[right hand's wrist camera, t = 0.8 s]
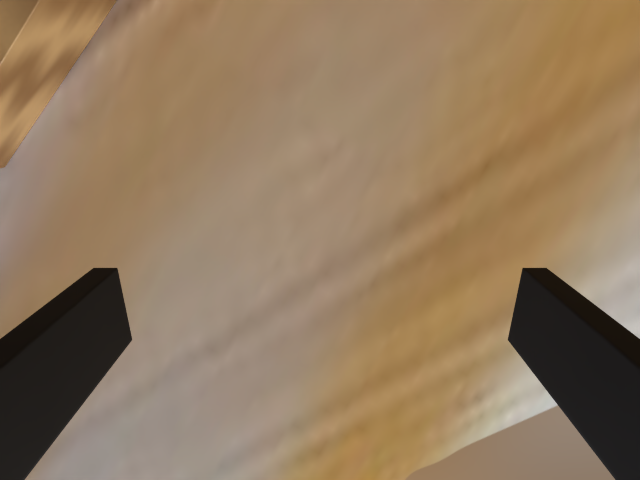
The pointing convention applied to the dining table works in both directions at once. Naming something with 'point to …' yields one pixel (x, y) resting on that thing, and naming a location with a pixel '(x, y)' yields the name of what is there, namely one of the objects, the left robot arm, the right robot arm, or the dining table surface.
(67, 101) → the dining table surface
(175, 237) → the dining table surface
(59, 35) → the beam
